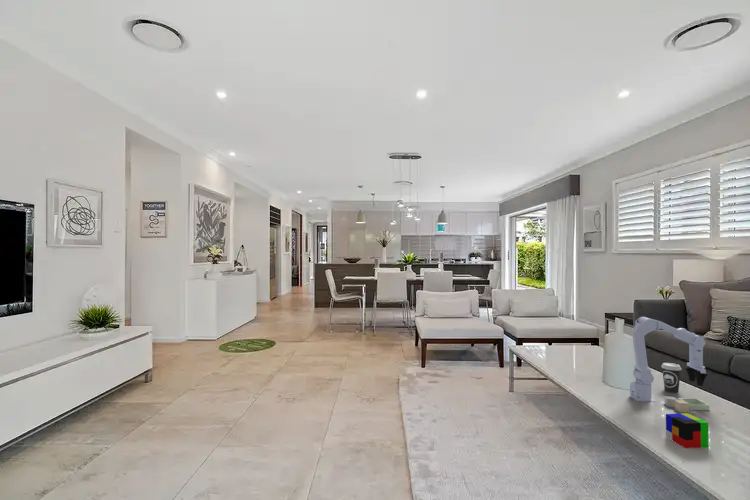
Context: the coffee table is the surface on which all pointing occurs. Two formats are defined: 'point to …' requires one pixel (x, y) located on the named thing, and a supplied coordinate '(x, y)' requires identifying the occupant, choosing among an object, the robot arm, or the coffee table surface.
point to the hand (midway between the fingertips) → (696, 383)
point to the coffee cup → (671, 377)
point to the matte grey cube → (670, 401)
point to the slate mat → (678, 411)
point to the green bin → (695, 404)
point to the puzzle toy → (687, 430)
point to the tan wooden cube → (681, 406)
